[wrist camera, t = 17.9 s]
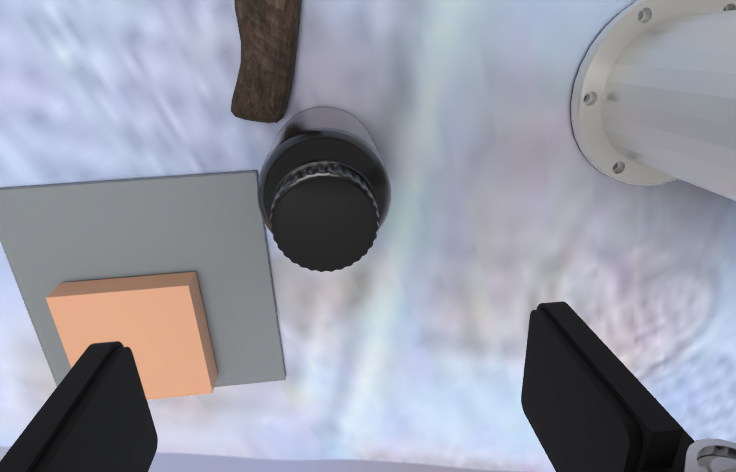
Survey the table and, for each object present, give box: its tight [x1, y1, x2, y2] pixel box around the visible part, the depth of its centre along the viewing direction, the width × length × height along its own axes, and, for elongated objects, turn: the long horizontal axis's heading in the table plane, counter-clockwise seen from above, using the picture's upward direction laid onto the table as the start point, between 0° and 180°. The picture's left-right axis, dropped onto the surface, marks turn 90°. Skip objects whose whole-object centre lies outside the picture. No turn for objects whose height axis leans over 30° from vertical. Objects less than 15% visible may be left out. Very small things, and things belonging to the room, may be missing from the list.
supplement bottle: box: [257, 107, 391, 272], centre depth 26 cm, size 7×7×12 cm
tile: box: [46, 272, 218, 400], centre depth 33 cm, size 9×2×9 cm
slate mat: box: [0, 170, 286, 387], centre depth 33 cm, size 17×17×1 cm
